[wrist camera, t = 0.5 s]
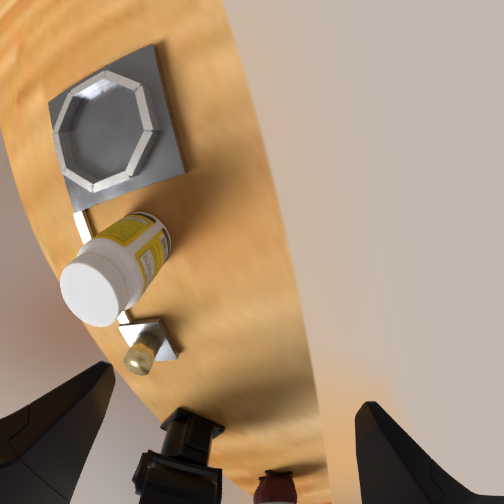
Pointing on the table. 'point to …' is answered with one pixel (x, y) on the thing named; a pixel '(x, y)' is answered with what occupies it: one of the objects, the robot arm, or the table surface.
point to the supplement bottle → (115, 268)
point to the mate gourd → (276, 489)
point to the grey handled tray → (119, 161)
